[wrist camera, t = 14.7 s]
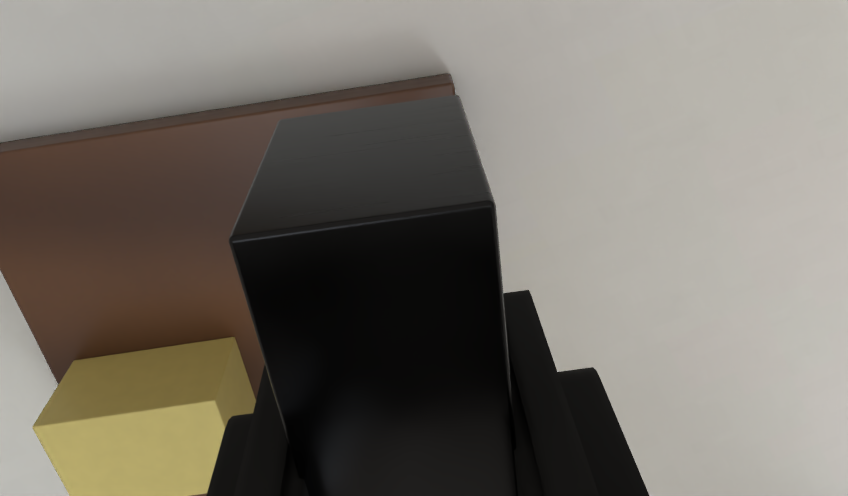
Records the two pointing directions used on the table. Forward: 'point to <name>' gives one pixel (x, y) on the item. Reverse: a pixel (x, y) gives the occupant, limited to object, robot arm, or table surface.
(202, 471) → the butter block
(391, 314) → the table knife
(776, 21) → the table surface
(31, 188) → the board
